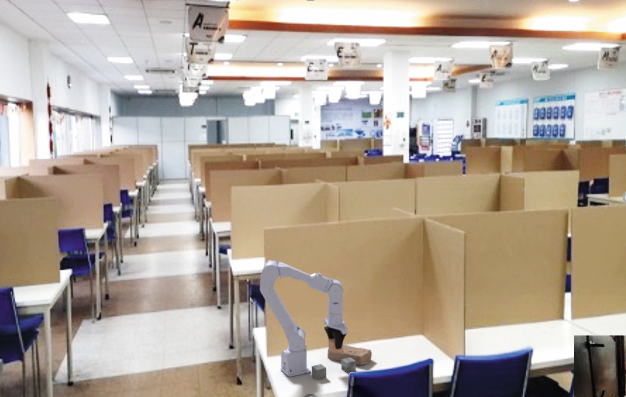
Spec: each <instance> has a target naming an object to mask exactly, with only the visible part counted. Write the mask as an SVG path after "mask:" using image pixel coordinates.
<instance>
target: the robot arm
mask: <svg viewBox="0 0 626 397" xmlns="http://www.w3.org/2000/svg"><path fill="white" fill-rule="evenodd" d="M259 276H260V277H259V278H260V279H259V280H260V283H259V291H260V293H261V295H262V296H263V298H264V300H265V301H266V303H267V305H268V306H269V309H271V311H272V313H273V315H274V316H275V318H276V320H277V322H278V323H279V324H280V326H281V328H282V330H283V331H284V334H285V338H286V339H287V341H288V342H287V344H288V345H287V349H285V350H282V351H281V354H280V360H281V361H280V366H281V368H280V371H282V373H284V374H285V375H286V376H287V377H290V378H292V377H295V376H300V375H303V374H308V373H312V369H310V368H308V367H307V366H308V364H307V363H308V358H307V356H308V354H307V353H308V352H307V351H308V350H307V346H306V341H305V340H306V332H305V330H304V329H303V328H301V327H300V326H299V325H298V323H297V322H295V321H294V319H293V318H292V316H291V314H290V313H289V311H288V309H287V308H286V306H285V304H284V303H283V301H282V299H281V298H280V296H279V294H278V293H277V292H276V289H275V287H274V286H275V283H276V281H277V279H278V278H279V279H284V278H287V277H289V278H290V279H291V278H292V279H294V280H297V281H301V282H304V283H306V284H308V287H309V288H311V289H314V290H315V291H316V290H317V291H318V292H321V293H324V294H327V295H328V300H327V318H323V324H325V325H327V326H324V327H323V328H324V331H325V333H326V335H327V339H328V340H329V339H335V347H336V349H341V348H342V344H343V345H344V341H345V338H346V336H347V334H348V332H349V330H348V328H347V326H346V321H344V300H343V298H344V297H343V295H344V288H343V284H342V282H341V281H340V280H338V279H336V278H334V279H333V278H332V277H331V278H329V277H326V276H324V275H322V273H321V272H317V273H316V272H314V273H312V274H310V273H308V272H305V271H302V270H301V269H298V268H296V267H294V266H291V265H289V264H288V263H287V264H286V263H284V262H282V261H277V260H275V259H270V260H268V261H266V262H265V264H264V266H263V268H262V271H261V274H260V275H259Z"/></svg>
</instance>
